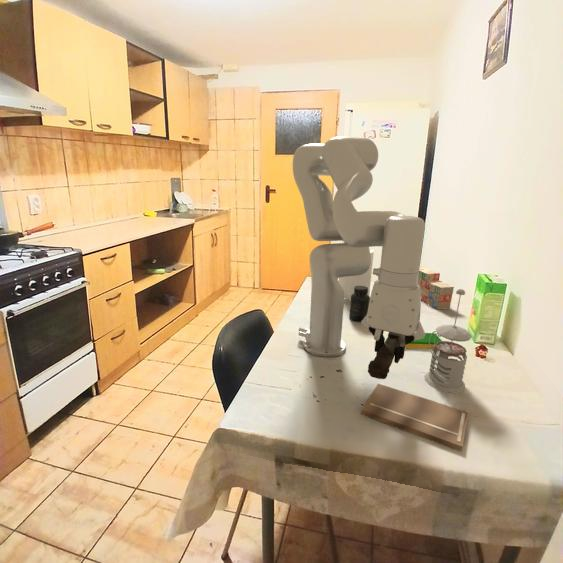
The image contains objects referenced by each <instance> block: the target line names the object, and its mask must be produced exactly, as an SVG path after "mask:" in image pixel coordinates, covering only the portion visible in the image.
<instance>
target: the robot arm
mask: <svg viewBox="0 0 563 563" xmlns="http://www.w3.org/2000/svg"><path fill="white" fill-rule="evenodd" d="M378 161H379V150H378V147H377V145H376V144H375V143H374V141H373V140H372V139H369V138H367V137H356V136H355V137H352V136H335V137H332V138H330V139H328V140H327V141H325V143H308V144H303V145H301V146H299V147H297V149H296V150H295V151H294V153H293V157H292V175H293V178H294V182H295V184H296V187H297V189H298V191H299V193H300V196H301V199H302V202H303V208H304V212H305V219H306V222H307V223H306V224H307V228H308V233H309V236H310V237H311V238H312V239H313V240H314V241H316V242H337V243H324V244H319V245H317V246H316V247H314V248H313V249H312V250H311V251H310V254H309V269H310V277H311V278H310V279H311V292H310V294H311V296H310V298H311V299H310V315H309V328H307V327H303V326H300V327H299V328H298V336H299V337H303V338H305V339H304V341H303V347H304V348H303V349H305V351H307V352H308V353H309V354H312V355H314V356H317V357H325V358H326V357H327V358H328V357H329V358H330V357H337V356H340V355H342V354H343V353H344V352H346V350H347V349H346V348H347V345H346V343H345V341H344V340H342V333H343V332H342V330H343V320H344V318H343V317H344V306H345V299H344V290H343V288H342V286H341V285H340V283H339V277H346V276H356V275H362V274H365V273H366V272H367V271H368V270H369V268H370V265H371V255H370V250H369V249H370V247H381V254H380V255H381V257H380V267H377V268H375V267H374V268H372V275H374V276H377V277H378V278H377V280H375V281H374V282H373V286H372V289H371V291H370V292H371V293H370V301H369V307H368V312H367V315H366V316H365V317H364V319H363V320H362V321H361V322H360V323H361V325H362V326H364V327H365V328H366V329H368V331H369V332H370V333H371V335H372V336H373V339H374V340H375V343H374V352H375V353H376V355H377V354H378V352H379V350H380V349H381V347H382V346H383V344H384V343H385V341H386V337H385V336H384V332H387V333H389V332H391V333H395V334H399V342H398V344H397V346H396V352H395V356H394V359H393V362H394V363H395V364H398V363H399V362H400V360H404V357H405V351H406V348H405V345H407V344H409V343H411V342H412V341H414V340H419V339H423V338H424V337H425V335H426V334H425V333H426V332H425V330H424V328H423V327H424V326H423V325H422V323H421V308H422V307H421V306H422V301H421V291H420V286H419V285H417V282H418V275H419V268H420V266H421V260H422V253H423V252H422V251H423V245H424V239H425V238H424V237H425V232H426V224H425V220H424V219H423V218H421V217H418V216H413V215H406V214H403V213H401V212H398V211H394V210H393V211H392V210H390V211H389V210H382V211H380V210H375V211H374V210H369V211H368V210H366V211H362V210H361V211H358V210H357V209H356V208H355V206H354V205H353V203H352V202H353V201H356V200H358V199H359V198H361V197H363V195H365V194H366V193H367V192H368V191H369V190H370V189H371V188H372V186H373V185H372V184H373V180H374V178H373V175H372V172H371V171H373V170H374V169H375V167H376V166H377V164H378ZM319 176H327V177H328V176H329V177H331V180H332V182H333V184H334V185H335V187H336V188H337V191H336V192H335V194H334V198H333V194H332V192H331V190H330V188H329V187H328V185H327V184H326V183H325V181H323V180H322V179H320V177H319ZM338 241H339V242H340V241H341V242H343V243H341V242H340V243H339V242H338ZM376 355H375V356H376Z"/></svg>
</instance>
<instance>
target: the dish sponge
mask: <svg viewBox="0 0 563 563" xmlns="http://www.w3.org/2000/svg"><path fill="white" fill-rule="evenodd" d="M425 334H426V335H425V337H424V338H423V339H419V340H414V341H412V342H411V343H409V344H407V345H405V349H406V348H407V349H429V338H430V349H431V350H433V348H435V347H436V346H435V345H434V339H435V335H436V334H437V333H436V332H434V333H433V334H432V332H425ZM431 334H432V336H431V337H430V335H431ZM439 341H443V340H442V339H441V337H439V336H438V334H437V335H436V340H435V344H436V343H437V342H439ZM430 349H429V350H430Z"/></svg>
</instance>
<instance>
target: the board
mask: <svg viewBox="0 0 563 563" xmlns="http://www.w3.org/2000/svg"><path fill="white" fill-rule="evenodd" d="M360 412H361V413H360V414H361V415H362V416H365V417H367V418H370V419H373V420H375V421H378V422H380V423H383V424H387V425H389V426H392V427H394V428H397V429H399V430H402V431H406V432H407V433H410V434H413V435H416V436H418V437H421V438H424V439H425V440H426V439H427V440H428V441H432V442H434V443H437V444H440V445H442V446H445V447H447V448H451V449H453V450H456V451H459V452H462V450H463V445H464V441H465V440H464V439H465V434H466V427H467V422H468V416H469V412H468V411H465V410H462V409H460V408H456V407H452V406H449V405H446V404H444V403H440V402H437V401H434V400H432V399H431V400H430V399H428V398H424V397H421V396H418V395H415V394H412V393H410V392H409V393H408V392H406V391H402V390H399V389H396V388H393V387H391V386H387V385H384V384H381V383H377V384H376V386H375V388H374V389H373V390H372V392H371V394H370V396H369V397H368V399H367V401H366V402H365V403H364V405H363V407H362V409H361V410H360Z"/></svg>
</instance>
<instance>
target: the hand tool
mask: <svg viewBox="0 0 563 563" xmlns="http://www.w3.org/2000/svg"><path fill="white" fill-rule="evenodd" d="M398 342H399V334H395V333H391V332H387V337H386V338H385V342H384V344H383V346H382V347H381V349H380V350H379V352H378V354H377V355H375V358H373V359H372V360H370V361H369V363H368V367H367V372H368V375H369V376H370V377H371V378H374V379H376V380H377V379H379V380H386V379H387V378H388V374H389V373H390V367H392V364H393V362H394V359H395V352H396V346H397V344H398Z"/></svg>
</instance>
